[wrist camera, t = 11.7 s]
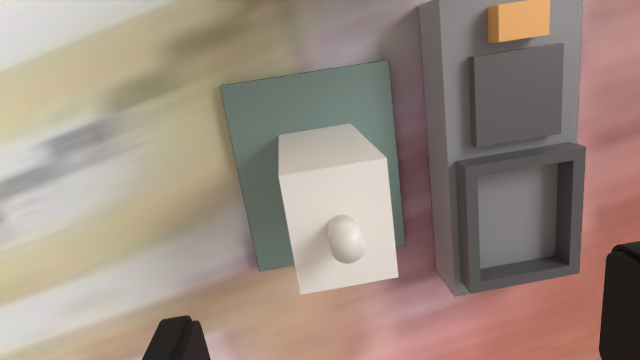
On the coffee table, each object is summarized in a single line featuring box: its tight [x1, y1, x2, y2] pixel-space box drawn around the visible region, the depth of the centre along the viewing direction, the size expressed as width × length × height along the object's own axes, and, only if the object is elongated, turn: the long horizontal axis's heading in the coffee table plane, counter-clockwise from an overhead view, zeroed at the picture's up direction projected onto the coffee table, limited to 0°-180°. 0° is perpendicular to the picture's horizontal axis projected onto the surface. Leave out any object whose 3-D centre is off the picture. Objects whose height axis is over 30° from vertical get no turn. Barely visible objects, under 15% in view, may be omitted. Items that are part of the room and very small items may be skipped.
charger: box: [278, 123, 398, 295], centre depth 19 cm, size 4×5×10 cm
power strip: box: [418, 0, 586, 296], centre depth 22 cm, size 7×16×4 cm, turn 8°
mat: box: [220, 60, 405, 271], centre depth 24 cm, size 9×11×1 cm
